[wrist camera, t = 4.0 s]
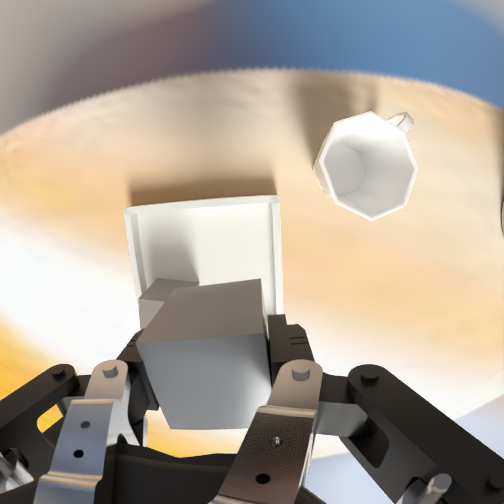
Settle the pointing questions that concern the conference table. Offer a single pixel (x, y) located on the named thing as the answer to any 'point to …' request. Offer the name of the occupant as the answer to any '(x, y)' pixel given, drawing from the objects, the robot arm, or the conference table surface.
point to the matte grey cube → (209, 355)
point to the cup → (367, 164)
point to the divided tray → (208, 243)
